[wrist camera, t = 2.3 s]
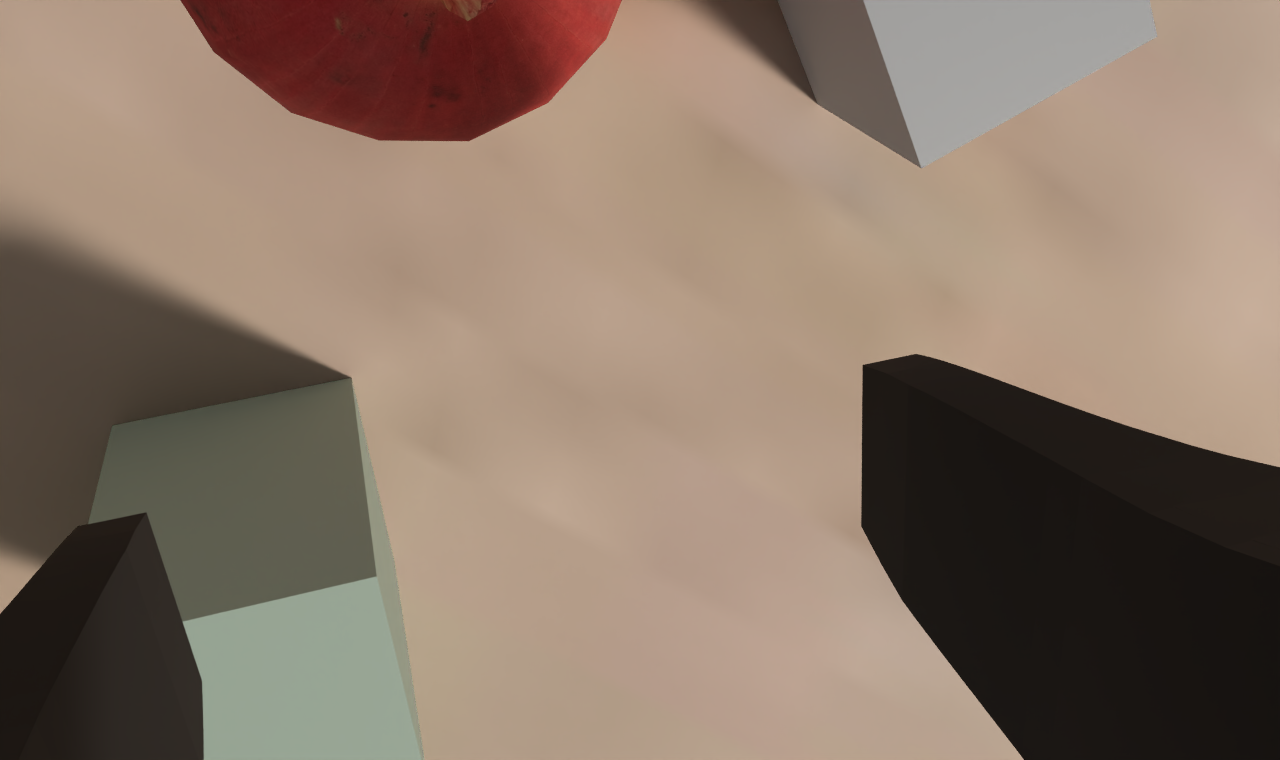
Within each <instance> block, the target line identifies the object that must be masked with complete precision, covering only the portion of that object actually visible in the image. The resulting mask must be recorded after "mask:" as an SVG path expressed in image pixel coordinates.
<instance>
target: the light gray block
mask: <svg viewBox="0 0 1280 760" xmlns="http://www.w3.org/2000/svg"><path fill="white" fill-rule="evenodd" d="M778 3H779V6H780V8H781V11H782V13H783V16H784V18H785V21H786V24H787V26H788V29H789V31H790V34H791V37H792V39H793V42H794V44H795V47H796V50H797V52H798V55H799V57H800V60H801V62H802V65H803V68H804V70H805V73H806V75H807V78H808V81H809V83H810V86H811V88H812V91H813V94H814V96H815V99H816V101H817V104H818V105H820V106H821V107H823V108H825V109H826V110H828V111H829V112H831V113H833V114H834V115H836V116H838V117H839V118H841V119H842V120H844V121H846V122H847V123H849V124H850V125H852V126H854V127H855V128H857V129H859V130H860V131H862V132H863V133H865V134H867V135H868V136H870V137H872V138H873V139H875V140H876V141H878V142H880V143H881V144H883V145H884V146H886V147H888V148H889V149H891V150H893V151H894V152H896V153H897V154H899V155H901V156H902V157H904V158H906V159H907V160H909V161H910V162H912V163H914V164H915V165H917V166H919V167H920V168H923V167H925V166H927V165H928V164H930V163H932V162H934V161H936V160H937V159H939V158H941V157H943V156H945V155H946V154H948V153H950V152H952V151H954V150H955V149H957V148H959V147H961V146H962V145H964V144H966V143H968V142H970V141H971V140H973V139H975V138H977V137H979V136H980V135H982V134H984V133H986V132H987V131H989V130H991V129H993V128H995V127H996V126H998V125H1000V124H1002V123H1004V122H1005V121H1007V120H1009V119H1011V118H1013V117H1014V116H1016V115H1018V114H1020V113H1021V112H1023V111H1025V110H1027V109H1029V108H1030V107H1032V106H1034V105H1036V104H1038V103H1039V102H1041V101H1043V100H1045V99H1047V98H1048V97H1050V96H1052V95H1054V94H1055V93H1057V92H1059V91H1061V90H1063V89H1064V88H1066V87H1068V86H1070V85H1072V84H1073V83H1075V82H1077V81H1079V80H1080V79H1082V78H1084V77H1086V76H1088V75H1089V74H1091V73H1093V72H1095V71H1097V70H1098V69H1100V68H1102V67H1104V66H1106V65H1107V64H1109V63H1111V62H1113V61H1114V60H1116V59H1118V58H1120V57H1122V56H1123V55H1125V54H1127V53H1129V52H1131V51H1132V50H1134V49H1136V48H1138V47H1140V46H1141V45H1143V44H1145V43H1147V42H1148V41H1150V40H1152V39H1154V38H1156V37H1157V33H1156V28H1155V23H1154V19H1153V14H1152V9H1151V5H1150V0H778Z"/></svg>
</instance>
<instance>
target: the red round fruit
mask: <svg viewBox="0 0 1280 760" xmlns="http://www.w3.org/2000/svg"><path fill="white" fill-rule="evenodd" d="M621 1H622V0H181V2H182V3H183V5H184V6H185V8H186V9H187V11H188V13H189V14H190V16H191V17H192V19H193V20H194V22H195V23H196V25H197V27H198V28H199V30H200V31H201V33H202V34H203V36H204V37H205V39H206V41H207V42H208V44H209V45H210V47H211V48H212V50H213V51H214V52H215V53H216V54H217V55H218V56H220V57H221V58H222V59H224V60H225V61H226V62H227V63H229V64H230V65H231V66H232V67H234V68H235V69H236V70H238V71H239V72H240V73H241V74H243V75H244V76H245V77H246V78H248V79H249V80H250V81H252V82H253V83H254V84H255V85H257V86H258V87H259V88H260V89H262V90H263V91H264V92H266V93H267V94H268V95H269V96H271V97H272V98H273V99H274V100H276V101H277V102H278V103H280V104H281V105H282V106H283V107H285V108H286V109H287V110H289V111H290V112H291V113H294V114H297V115H300V116H303V117H307V118H310V119H313V120H316V121H319V122H322V123H326V124H329V125H332V126H335V127H338V128H341V129H345V130H348V131H351V132H354V133H357V134H360V135H364V136H367V137H370V138H373V139H376V140H394V141H470V140H472V139H474V138H476V137H478V136H481V135H483V134H485V133H487V132H489V131H491V130H493V129H495V128H497V127H499V126H501V125H503V124H505V123H507V122H509V121H511V120H514V119H516V118H518V117H520V116H522V115H524V114H526V113H528V112H530V111H532V110H534V109H536V108H538V107H540V106H542V105H544V104H547V103H548V102H549V101H550V100H551V99H552V98H553V97H554V96H555V94H556V93H557V92H558V91H559V90H560V89H561V88H562V87H563V86H564V85H565V84H566V82H567V81H568V80H569V79H570V78H571V77H572V76H573V75H574V74H575V73H576V71H577V70H578V69H579V68H580V67H581V66H582V65H583V64H584V63H585V62H586V60H587V59H588V58H589V57H590V56H591V55H592V54H593V53H594V52H595V51H596V49H597V48H598V47H599V46H600V45H601V44H602V43H603V42H604V41H605V40H606V38H607V36H608V33H609V31H610V28H611V26H612V23H613V21H614V18H615V16H616V13H617V11H618V8H619V6H620V3H621Z"/></svg>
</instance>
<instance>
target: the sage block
mask: <svg viewBox="0 0 1280 760" xmlns="http://www.w3.org/2000/svg"><path fill="white" fill-rule="evenodd" d="M145 512H147V515H148V518H149V521H150V524H151V528H152V531H153V534H154V537H155V540H156V543H157V546H158V549H159V552H160V555H161V558H162V561H163V564H164V567H165V570H166V573H167V576H168V579H169V582H170V585H171V588H172V591H173V594H174V597H175V600H176V603H177V606H178V609H179V612H180V615H181V618H182V621H183V625H184V628H185V631H186V634H187V637H188V640H189V643H190V646H191V649H192V652H193V655H194V658H195V661H196V664H197V667H198V670H199V673H200V676H201V679H202V694H203V729H204V760H424V753H423V747H422V740H421V734H420V727H419V720H418V714H417V707H416V701H415V694H414V687H413V681H412V674H411V668H410V661H409V655H408V648H407V641H406V635H405V628H404V622H403V615H402V608H401V602H400V595H399V589H398V582H397V575H396V569H395V562H394V558H393V554H392V549H391V545H390V541H389V536H388V532H387V528H386V524H385V519H384V515H383V511H382V506H381V502H380V498H379V494H378V489H377V485H376V481H375V476H374V472H373V468H372V464H371V459H370V455H369V451H368V446H367V442H366V438H365V434H364V429H363V425H362V421H361V416H360V412H359V408H358V404H357V399H356V395H355V391H354V386H353V382H352V378H347V379H342V380H337V381H332V382H327V383H322V384H317V385H312V386H307V387H302V388H297V389H292V390H287V391H282V392H277V393H272V394H267V395H262V396H257V397H252V398H247V399H242V400H237V401H232V402H227V403H222V404H217V405H212V406H207V407H202V408H198V409H193V410H188V411H183V412H178V413H173V414H168V415H163V416H158V417H153V418H148V419H143V420H138V421H133V422H128V423H123V424H118V425H113V426H112V428H111V433H110V437H109V441H108V445H107V449H106V453H105V457H104V461H103V465H102V469H101V473H100V477H99V481H98V485H97V489H96V493H95V497H94V501H93V506H92V510H91V514H90V518H89V522H88V524H92V523H96V522H101V521H106V520H111V519H116V518H121V517H126V516H131V515H135V514H140V513H145Z"/></svg>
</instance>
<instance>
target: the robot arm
mask: <svg viewBox="0 0 1280 760" xmlns="http://www.w3.org/2000/svg"><path fill="white" fill-rule="evenodd" d="M861 527H862V528H863V530H864V532H865V534H866V536H867V538H868V540H869V542H870V544H871V545H872V547H873V549H874V551H875V553H876V555H877V557H878V559H879V560H880V562H881V564H882V566H883V568H884V570H885V571H886V573H887V575H888V577H889V578H890V580H891V582H892V583H893V585H894V587H895V589H896V590H897V592H898V594H899V596H900V597H901V599H902V601H903V602H904V603H905V605H906V606H907V607H908V609H909V610H910V612H911V613H912V614H913V616H914V617H915V618H916V620H917V621H918V622H919V624H920V625H921V626H922V628H923V629H924V630H925V632H926V633H927V634H928V635H929V637H930V638H931V639H932V641H933V642H934V643H935V645H936V646H937V647H938V649H939V650H940V651H941V653H942V654H943V655H944V657H945V658H946V659H947V660H948V662H949V663H950V664H951V666H952V667H953V668H954V670H955V671H956V672H957V673H958V675H959V676H960V677H961V679H962V680H963V681H964V682H965V684H966V685H967V686H968V688H969V689H970V690H971V691H972V693H973V694H974V695H975V697H976V698H977V699H978V701H979V702H980V703H981V704H982V706H983V707H984V708H985V710H986V711H987V712H988V713H989V715H990V716H991V717H992V719H993V720H994V721H995V723H996V724H997V725H998V726H999V728H1000V729H1001V730H1002V732H1003V733H1004V734H1005V735H1006V737H1007V738H1008V739H1009V741H1010V742H1011V743H1012V744H1013V746H1014V747H1015V748H1016V750H1017V751H1018V752H1019V754H1020V755H1021V756H1022V758H1023V759H1024V760H1280V467H1276V466H1271V465H1267V464H1263V463H1258V462H1254V461H1250V460H1245V459H1241V458H1237V457H1233V456H1228V455H1224V454H1221V453H1217V452H1213V451H1210V450H1206V449H1202V448H1198V447H1195V446H1191V445H1188V444H1185V443H1181V442H1178V441H1175V440H1171V439H1168V438H1165V437H1162V436H1158V435H1155V434H1152V433H1149V432H1145V431H1142V430H1139V429H1136V428H1132V427H1129V426H1126V425H1123V424H1120V423H1117V422H1114V421H1111V420H1108V419H1105V418H1102V417H1099V416H1096V415H1094V414H1091V413H1088V412H1085V411H1082V410H1079V409H1076V408H1074V407H1071V406H1068V405H1065V404H1062V403H1060V402H1057V401H1054V400H1051V399H1049V398H1046V397H1043V396H1040V395H1038V394H1035V393H1032V392H1029V391H1027V390H1024V389H1021V388H1019V387H1016V386H1013V385H1010V384H1008V383H1005V382H1002V381H1000V380H997V379H994V378H991V377H989V376H986V375H983V374H980V373H977V372H975V371H972V370H969V369H966V368H963V367H960V366H957V365H954V364H951V363H948V362H945V361H941V360H938V359H935V358H931V357H927V356H923V355H918V354H914V355H909V356H904V357H899V358H895V359H890V360H885V361H880V362H875V363H870V364H865V365H863V397H862V518H861ZM0 760H204V729H203V694H202V679H201V676H200V673H199V670H198V667H197V664H196V661H195V658H194V655H193V652H192V649H191V646H190V643H189V640H188V637H187V634H186V631H185V628H184V625H183V621H182V618H181V615H180V612H179V609H178V606H177V603H176V600H175V597H174V594H173V591H172V588H171V585H170V582H169V579H168V576H167V573H166V570H165V567H164V564H163V561H162V558H161V555H160V552H159V549H158V546H157V543H156V540H155V537H154V534H153V531H152V528H151V524H150V521H149V518H148V515H147V512H145V513H140V514H135V515H131V516H126V517H121V518H116V519H111V520H106V521H101V522H96V523H92V524H87V525H82V526H78V527H77V528H76V529H75V530H74V531H73V532H72V533H71V534H70V535H69V536H68V537H67V538H66V539H65V540H64V541H63V542H62V543H61V544H60V546H59V547H58V548H57V549H56V550H55V551H54V552H53V554H52V555H51V556H50V557H49V558H48V559H47V561H46V562H45V563H44V564H43V565H42V566H41V567H40V569H39V570H38V571H37V572H36V573H35V575H34V576H33V577H32V578H31V579H30V580H29V582H28V583H27V584H26V585H25V586H24V587H23V589H22V590H21V591H20V592H19V593H18V594H17V596H16V597H15V598H14V599H13V600H12V601H11V602H10V604H9V605H8V606H7V607H6V608H5V609H4V610H3V612H2V613H1V614H0Z"/></svg>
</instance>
